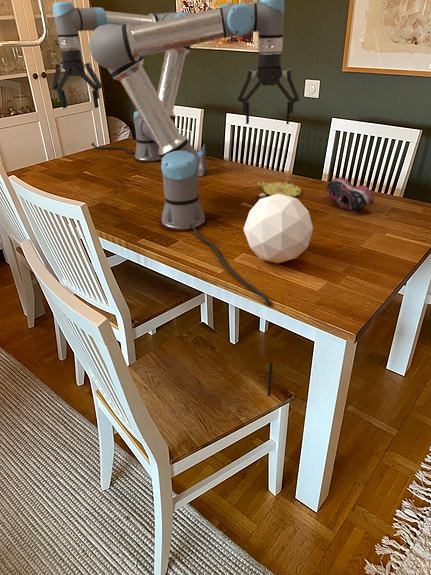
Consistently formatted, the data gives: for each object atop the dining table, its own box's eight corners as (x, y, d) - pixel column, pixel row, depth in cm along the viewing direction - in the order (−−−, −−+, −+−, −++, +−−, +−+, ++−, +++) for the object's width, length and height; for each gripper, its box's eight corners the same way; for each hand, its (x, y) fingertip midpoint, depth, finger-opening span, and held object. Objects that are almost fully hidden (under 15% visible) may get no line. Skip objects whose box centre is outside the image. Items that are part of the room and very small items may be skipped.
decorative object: (287, 199, 166) (244, 186, 176) (286, 205, 167) (244, 192, 178) (314, 184, 179) (272, 172, 189) (313, 190, 181) (272, 178, 191)
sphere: (285, 285, 132) (293, 258, 113) (230, 249, 136) (230, 218, 118) (319, 238, 137) (332, 204, 118) (265, 205, 141) (270, 168, 122)
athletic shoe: (336, 177, 172) (311, 184, 169) (376, 171, 153) (348, 180, 149) (341, 205, 175) (316, 213, 171) (381, 204, 156) (354, 213, 152)
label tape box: (197, 170, 205) (196, 143, 198) (206, 170, 205) (205, 143, 198) (194, 176, 198) (193, 148, 191) (203, 176, 197) (202, 148, 191)
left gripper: (35, 51, 169) (48, 109, 181) (98, 49, 167) (107, 109, 178) (43, 49, 176) (55, 106, 187) (104, 47, 173) (112, 105, 184)
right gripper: (229, 54, 138) (229, 125, 149) (310, 53, 135) (304, 126, 146) (232, 52, 144) (232, 120, 156) (309, 51, 141) (304, 120, 152)
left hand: (80, 107), depth 183 cm, fingers open, 13 cm apart
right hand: (267, 123), depth 151 cm, fingers open, 13 cm apart
